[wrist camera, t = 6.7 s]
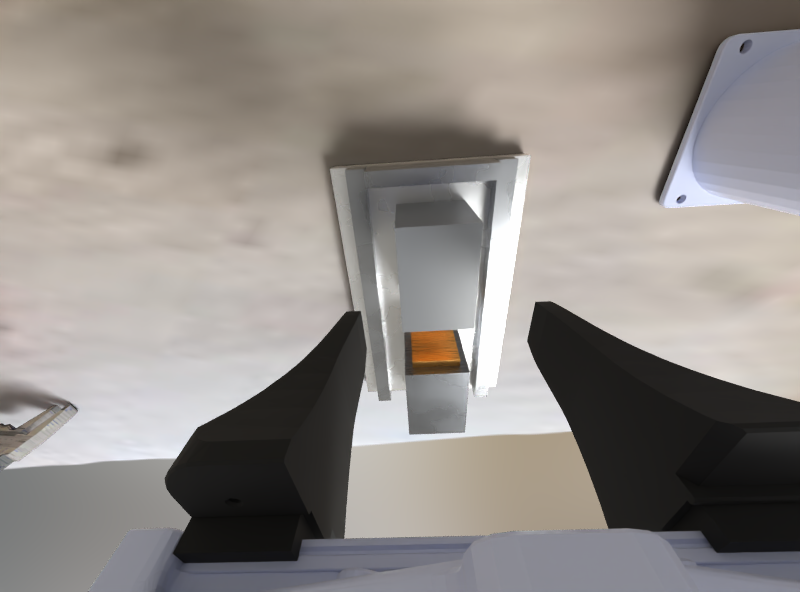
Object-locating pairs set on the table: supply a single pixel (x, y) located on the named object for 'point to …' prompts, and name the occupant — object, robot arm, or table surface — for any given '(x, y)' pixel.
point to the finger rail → (379, 285)
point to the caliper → (31, 433)
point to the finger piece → (438, 264)
